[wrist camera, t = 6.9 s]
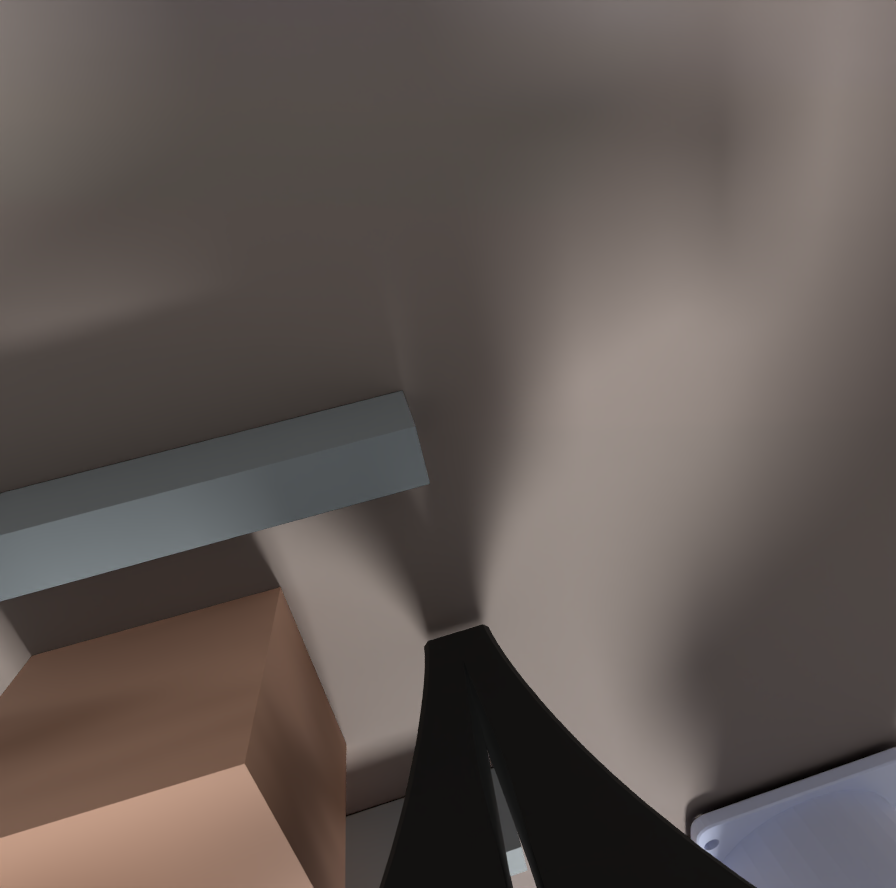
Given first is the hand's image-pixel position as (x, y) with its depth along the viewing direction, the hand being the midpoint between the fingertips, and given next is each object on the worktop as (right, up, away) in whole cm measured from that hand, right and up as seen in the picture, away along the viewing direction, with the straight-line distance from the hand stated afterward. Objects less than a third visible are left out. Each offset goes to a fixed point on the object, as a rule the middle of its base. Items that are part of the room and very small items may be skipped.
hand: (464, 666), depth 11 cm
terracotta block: (-6, -1, +1) cm, 6 cm away
